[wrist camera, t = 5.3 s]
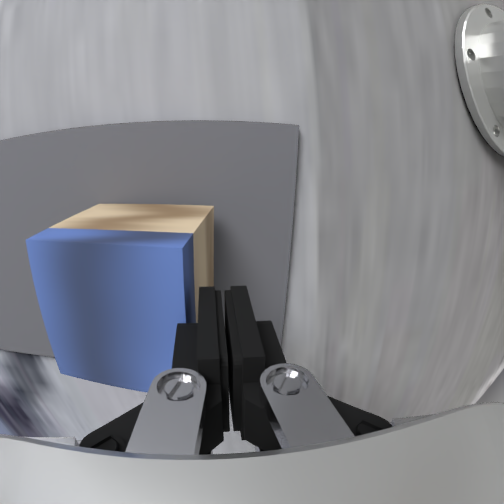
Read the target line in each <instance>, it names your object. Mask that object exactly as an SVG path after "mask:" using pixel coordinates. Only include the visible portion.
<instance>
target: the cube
mask: <svg viewBox="0 0 504 504" xmlns="http://www.w3.org/2000/svg"><path fill="white" fill-rule="evenodd" d="M26 246H27V251H28V257H29V262H30V267H31V272H32V277H33V282H34V286H35V290H36V295H37V299H38V303H39V306H40V310H41V314H42V318H43V321H44V325H45V328H46V331H47V335H48V338H49V341H50V344H51V347H52V350H53V353H54V356H55V359H56V362H57V364H58V367H59V370H60V373H62V374H65V375H69V376H73V377H77V378H81V379H85V380H89V381H93V382H97V383H102V384H106V385H111V386H116V387H121V388H126V389H131V390H136V391H142V392H148V390H149V388H150V385H151V383H152V381H153V379H154V378H155V377H156V376H157V375H158V374H160V373H161V372H163V371H166V370H168V369H172V360H173V352H174V344H175V336H176V328H177V324H178V323H198V301H199V287H207V286H214V206H205V205H170V204H98V205H95V206H93V207H91V208H89V209H87V210H84V211H82V212H80V213H78V214H76V215H74V216H72V217H70V218H68V219H65V220H63V221H61V222H59V223H57V224H55V225H53V226H51V227H49V228H47V229H45V230H43V231H41V232H39V233H38V234H36V235H34V236H32V237H30V238H28V239H26Z"/></svg>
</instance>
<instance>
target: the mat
mask: <svg viewBox="0 0 504 504" xmlns="http://www.w3.org/2000/svg"><path fill="white" fill-rule="evenodd" d="M298 138H299V125H292V124H279V123H265V122H245V121H206V120H191V121H152V122H133V123H119V124H107V125H96V126H87V127H78V128H70V129H63V130H56V131H49V132H43V133H37V134H31V135H25V136H20V137H15V138H10V139H5V140H0V349H2V350H8V351H14V352H20V353H27V354H34V355H42V356H50V357H55V356H54V353H53V350H52V347H51V344H50V341H49V338H48V335H47V331H46V328H45V325H44V321H43V318H42V314H41V310H40V306H39V303H38V299H37V295H36V290H35V286H34V282H33V277H32V272H31V267H30V262H29V257H28V251H27V246H26V239H28V238H30V237H32V236H34V235H36V234H38V233H39V232H41V231H43V230H45V229H47V228H49V227H51V226H53V225H55V224H57V223H59V222H61V221H63V220H65V219H68V218H70V217H72V216H74V215H76V214H78V213H80V212H82V211H84V210H87V209H89V208H91V207H93V206H95V205H98V204H170V205H205V206H214V286H215V290H221V296H222V306H223V316H224V326H225V296H224V293H225V290H230V287H231V286H247V290H248V293H249V297H250V301H251V305H252V308H253V312H254V316H255V320H256V321H268V320H270V321H272V323H273V326H274V329H275V332H276V335H277V338H278V340H279V343H280V346H281V342H282V333H283V323H284V314H285V304H286V294H287V284H288V273H289V262H290V251H291V239H292V227H293V214H294V201H295V187H296V172H297V156H298Z"/></svg>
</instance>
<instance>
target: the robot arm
mask: <svg viewBox="0 0 504 504" xmlns="http://www.w3.org/2000/svg"><path fill="white" fill-rule="evenodd" d="M455 59H456V65H457V72H458V77H459V81H460V85H461V89H462V92H463V95H464V98H465V101H466V104H467V107H468V109H469V111H470V113H471V115H472V118H473V120H474V122H475V124H476V126H477V127H478V129H479V131H480V133H481V134H482V136H483V137H484V139H485V140H486V141H487V142H488V144H489V145H490V146H491V147H492V148H493V149H494V150H495V151H496V152H497V153H499V154H500V155H502V156H504V11H503V10H502V9H500V8H498V7H496V6H493V5H490V4H479V5H476V6H472V7H470V8H469V9H467V10H465V11H464V12H463V14H462V15H461V17H460V18H459V21H458V24H457V27H456V33H455ZM224 296H225V326H224V316H223V306H222V296H221V290H215V286H207V287H199V301H198V323H178V324H177V328H176V336H175V344H174V352H173V360H172V369H168V370H166V371H163V372H161V373H160V374H158V375H157V376H156V377H155V378H154V379H153V381H152V383H151V385H150V388H149V390H148V393H147V395H146V398H145V400H144V402H143V403H142V404H140V405H138V406H137V407H135V408H133V409H132V410H130V411H128V412H126V413H125V414H123V415H121V416H120V417H118V418H116V419H114V420H113V421H111V422H109V423H107V424H106V425H104V426H102V427H100V428H98V429H97V430H95V431H93V432H91V433H90V434H88V435H87V436H86V437H84V438H83V440H79V441H77V440H76V438H75V437H20V436H12V435H3V434H0V504H504V403H500V402H490V403H479V404H472V405H467V406H463V407H459V408H455V409H451V410H448V411H445V412H442V413H438V414H434V415H426V416H416V417H406V418H393V420H392V422H388V421H387V420H385V419H383V418H381V417H379V416H377V415H374V414H371V413H369V412H366V411H363V410H361V409H358V408H356V407H353V406H351V405H348V404H346V403H343V402H341V401H338V400H336V399H334V398H331V397H329V396H327V395H326V394H325V392H324V391H323V389H322V388H321V387H320V385H319V384H318V382H317V381H316V379H315V378H314V376H313V375H312V374H311V373H310V372H309V371H308V370H307V369H305V368H303V367H302V366H298V365H295V364H288V363H286V360H285V358H284V355H283V352H282V349H281V346H280V343H279V340H278V338H277V335H276V332H275V329H274V326H273V323H272V321H270V320H268V321H256V320H255V316H254V312H253V308H252V305H251V301H250V297H249V293H248V290H247V286H231V287H230V290H225V293H224ZM229 395H230V404H231V412H232V421H233V429H234V431H240V432H241V439H242V440H247V441H248V442H250V443H252V444H253V445H255V450H256V452H249V453H235V454H213V449H214V448H215V447H216V446H218V445H219V444H220V443H221V442H222V441H224V437H223V432H229V431H230V425H229Z"/></svg>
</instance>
